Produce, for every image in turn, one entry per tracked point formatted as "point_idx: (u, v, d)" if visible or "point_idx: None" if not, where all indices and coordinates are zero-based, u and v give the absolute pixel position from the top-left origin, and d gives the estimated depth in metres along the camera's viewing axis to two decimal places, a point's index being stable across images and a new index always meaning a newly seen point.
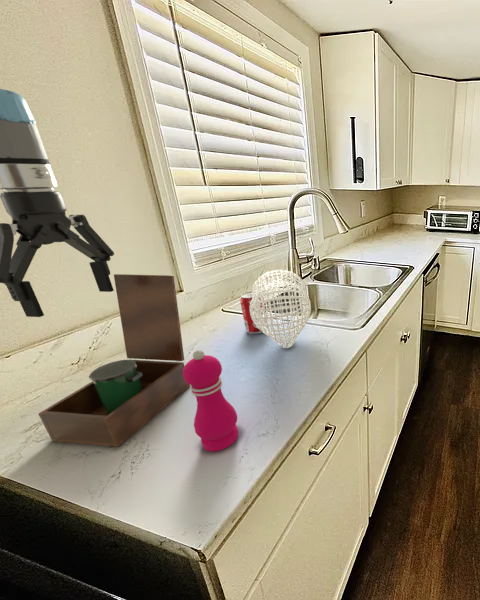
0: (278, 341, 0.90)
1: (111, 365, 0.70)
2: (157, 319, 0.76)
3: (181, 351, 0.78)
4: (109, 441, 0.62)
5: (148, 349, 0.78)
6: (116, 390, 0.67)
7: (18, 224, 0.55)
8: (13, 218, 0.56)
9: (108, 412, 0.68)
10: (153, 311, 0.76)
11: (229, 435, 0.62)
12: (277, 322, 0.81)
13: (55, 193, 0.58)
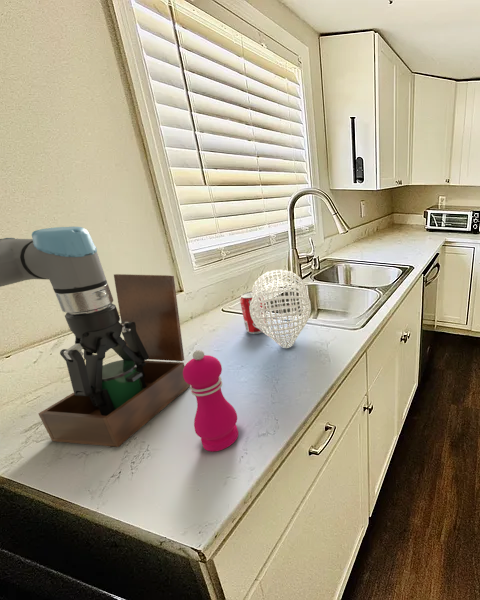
0: (278, 341, 0.90)
1: (111, 365, 0.70)
2: (157, 319, 0.76)
3: (181, 351, 0.78)
4: (109, 441, 0.62)
5: (148, 349, 0.78)
6: (116, 390, 0.67)
7: (81, 343, 0.62)
8: (76, 336, 0.62)
9: None
10: (153, 311, 0.76)
11: (229, 435, 0.62)
12: (277, 322, 0.81)
13: (112, 308, 0.65)
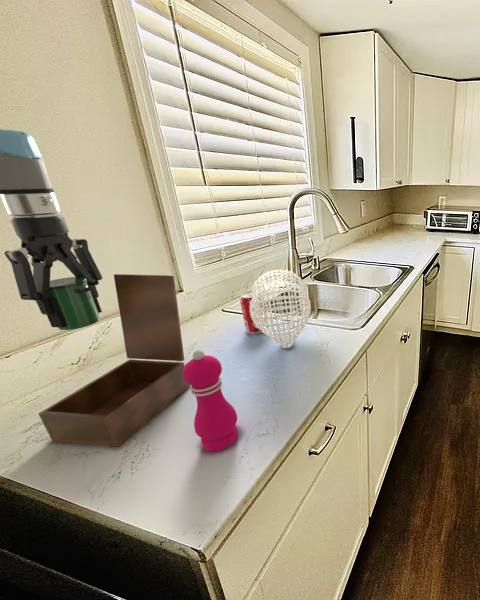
0: (278, 341, 0.90)
1: (62, 279, 0.72)
2: (157, 319, 0.76)
3: (181, 351, 0.78)
4: (109, 441, 0.62)
5: (148, 349, 0.78)
6: (65, 300, 0.69)
7: (27, 247, 0.64)
8: (22, 240, 0.64)
9: None
10: (153, 311, 0.76)
11: (229, 435, 0.62)
12: (277, 322, 0.81)
13: (59, 217, 0.67)
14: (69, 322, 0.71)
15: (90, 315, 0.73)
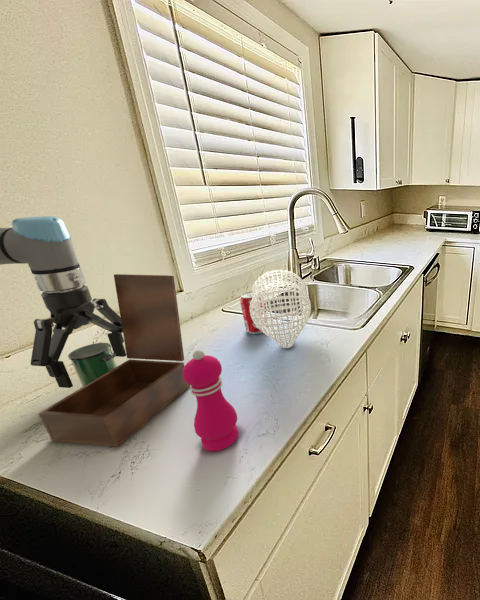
0: (278, 341, 0.90)
1: (88, 347, 0.79)
2: (157, 319, 0.76)
3: (181, 351, 0.78)
4: (109, 441, 0.62)
5: (148, 349, 0.78)
6: (92, 368, 0.76)
7: (55, 317, 0.70)
8: (51, 312, 0.70)
9: None
10: (153, 311, 0.76)
11: (229, 435, 0.62)
12: (277, 322, 0.81)
13: (84, 289, 0.73)
14: None
15: None
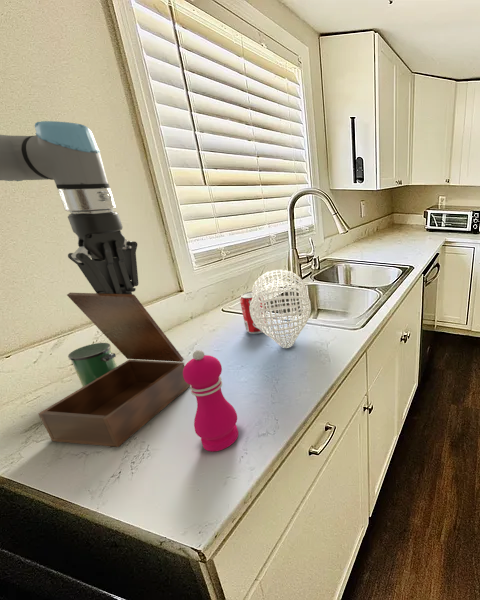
0: (278, 341, 0.90)
1: (88, 347, 0.79)
2: (139, 331, 0.72)
3: (177, 355, 0.77)
4: (109, 441, 0.62)
5: (144, 353, 0.77)
6: (92, 368, 0.76)
7: (85, 246, 0.62)
8: (79, 237, 0.62)
9: None
10: (131, 325, 0.71)
11: (229, 435, 0.62)
12: (277, 322, 0.81)
13: (114, 213, 0.65)
14: None
15: None
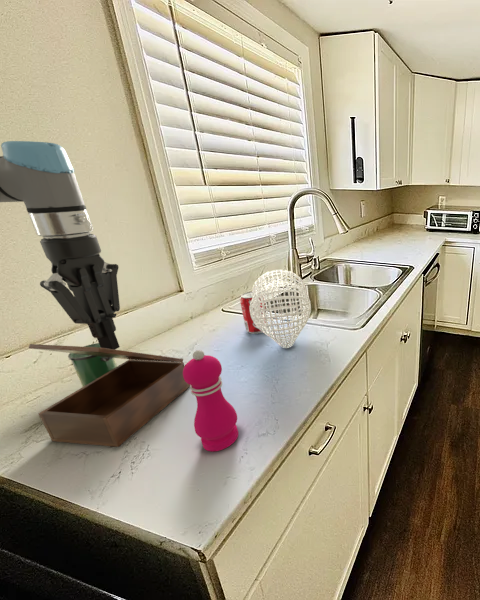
0: (278, 341, 0.90)
1: None
2: None
3: (175, 360, 0.76)
4: (109, 441, 0.62)
5: (142, 359, 0.77)
6: (92, 368, 0.76)
7: (59, 273, 0.58)
8: (53, 263, 0.58)
9: None
10: (114, 355, 0.67)
11: (229, 435, 0.62)
12: (277, 322, 0.81)
13: (91, 237, 0.60)
14: None
15: None
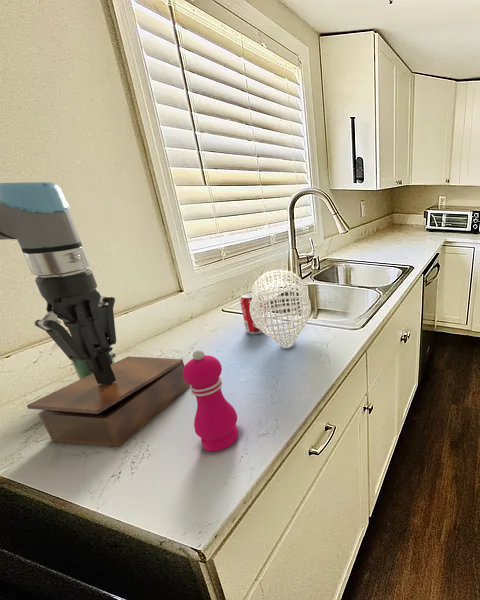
0: (278, 341, 0.90)
1: None
2: None
3: (175, 366, 0.76)
4: (109, 441, 0.62)
5: None
6: None
7: (54, 312, 0.57)
8: (48, 302, 0.57)
9: None
10: None
11: (229, 435, 0.62)
12: (277, 322, 0.81)
13: (87, 273, 0.60)
14: None
15: None
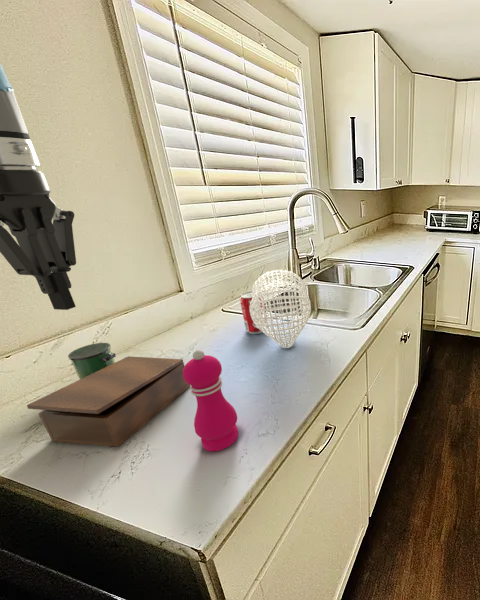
0: (278, 341, 0.90)
1: (88, 347, 0.79)
2: None
3: (175, 366, 0.76)
4: (109, 441, 0.62)
5: None
6: (92, 368, 0.76)
7: None
8: None
9: None
10: None
11: (229, 435, 0.62)
12: (277, 322, 0.81)
13: (36, 172, 0.52)
14: None
15: None
